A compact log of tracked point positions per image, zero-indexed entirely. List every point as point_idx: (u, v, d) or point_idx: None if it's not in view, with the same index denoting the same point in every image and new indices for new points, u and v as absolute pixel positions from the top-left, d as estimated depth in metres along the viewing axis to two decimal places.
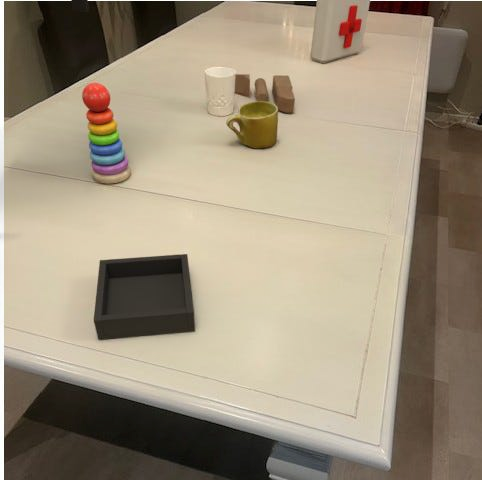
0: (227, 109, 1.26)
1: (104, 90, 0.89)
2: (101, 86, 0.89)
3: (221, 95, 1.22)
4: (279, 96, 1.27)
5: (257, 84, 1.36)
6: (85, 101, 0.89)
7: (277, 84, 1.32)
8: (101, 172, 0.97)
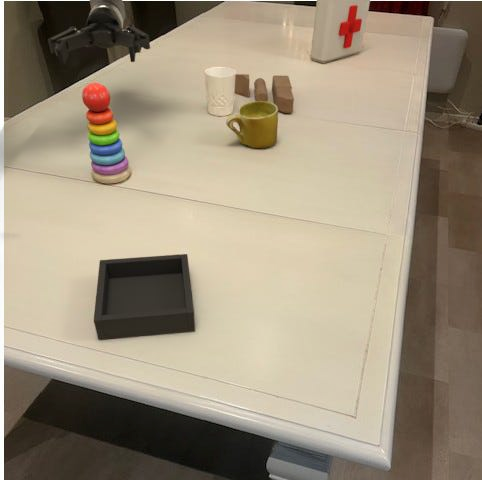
0: (227, 109, 1.26)
1: (104, 90, 0.89)
2: (101, 86, 0.89)
3: (221, 95, 1.22)
4: (278, 96, 1.27)
5: (256, 84, 1.36)
6: (85, 101, 0.89)
7: (276, 84, 1.32)
8: (101, 172, 0.97)
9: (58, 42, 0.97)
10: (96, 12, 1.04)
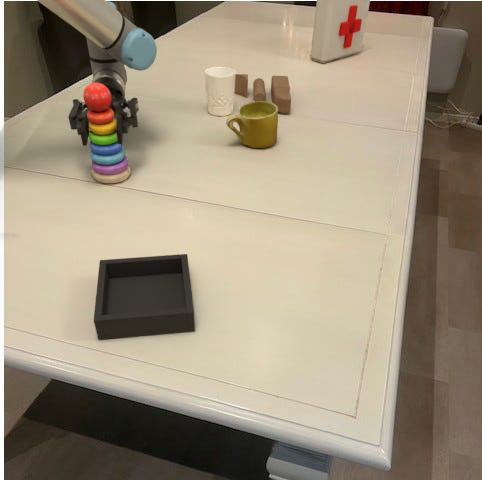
0: (227, 109, 1.26)
1: (106, 90, 0.89)
2: (102, 86, 0.89)
3: (221, 95, 1.22)
4: (276, 96, 1.26)
5: (255, 84, 1.36)
6: (86, 101, 0.89)
7: (275, 84, 1.31)
8: (101, 172, 0.97)
9: (80, 120, 0.94)
10: None
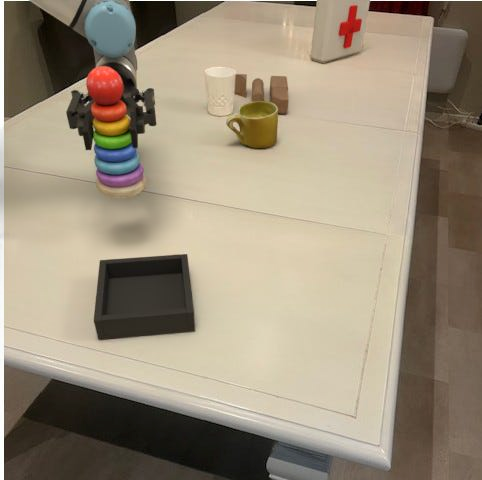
0: (227, 109, 1.26)
1: (116, 77, 0.67)
2: (112, 71, 0.66)
3: (221, 95, 1.22)
4: (273, 96, 1.26)
5: (254, 84, 1.36)
6: (90, 90, 0.67)
7: (273, 84, 1.31)
8: (109, 184, 0.75)
9: (82, 116, 0.72)
10: None
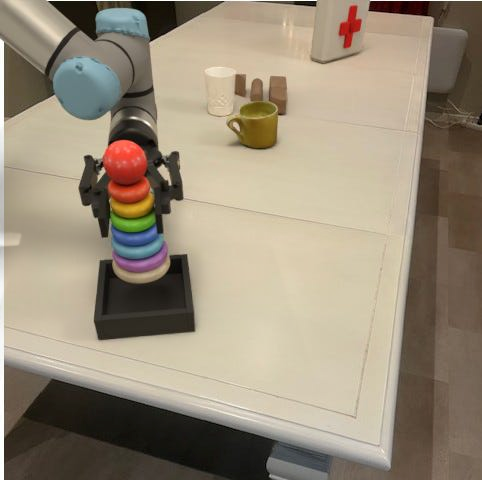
0: (227, 109, 1.26)
1: (139, 154, 0.55)
2: (134, 146, 0.55)
3: (221, 95, 1.22)
4: (271, 97, 1.26)
5: (253, 84, 1.36)
6: (108, 170, 0.55)
7: (272, 85, 1.31)
8: (128, 269, 0.64)
9: (97, 193, 0.61)
10: (124, 130, 0.69)
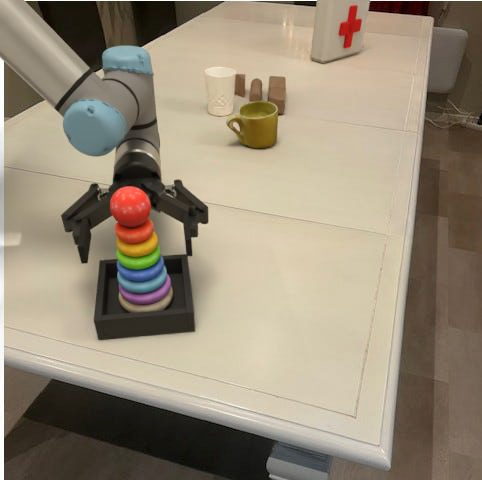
0: (227, 109, 1.26)
1: (144, 199, 0.60)
2: (139, 193, 0.59)
3: (221, 95, 1.22)
4: (270, 97, 1.26)
5: (252, 84, 1.36)
6: (115, 215, 0.60)
7: (271, 85, 1.31)
8: (134, 302, 0.68)
9: (77, 221, 0.66)
10: (129, 164, 0.73)
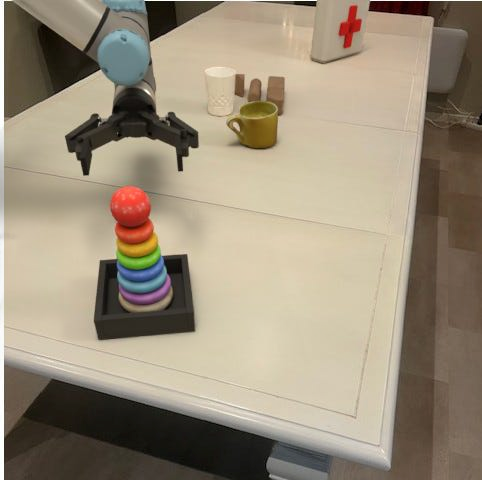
0: (227, 109, 1.26)
1: (144, 199, 0.60)
2: (139, 193, 0.59)
3: (221, 95, 1.22)
4: (268, 97, 1.26)
5: (251, 84, 1.35)
6: (115, 215, 0.60)
7: (269, 85, 1.31)
8: (134, 302, 0.68)
9: (79, 141, 0.73)
10: (126, 96, 0.80)
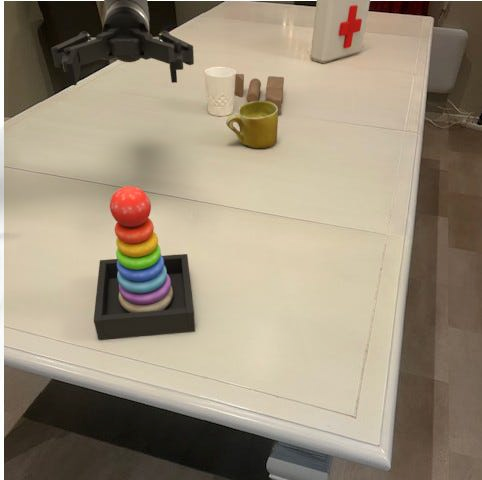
0: (227, 109, 1.26)
1: (144, 199, 0.60)
2: (139, 193, 0.59)
3: (221, 95, 1.22)
4: (266, 97, 1.26)
5: (250, 84, 1.35)
6: (115, 215, 0.60)
7: (268, 85, 1.31)
8: (134, 302, 0.68)
9: (66, 52, 0.68)
10: (117, 13, 0.75)
